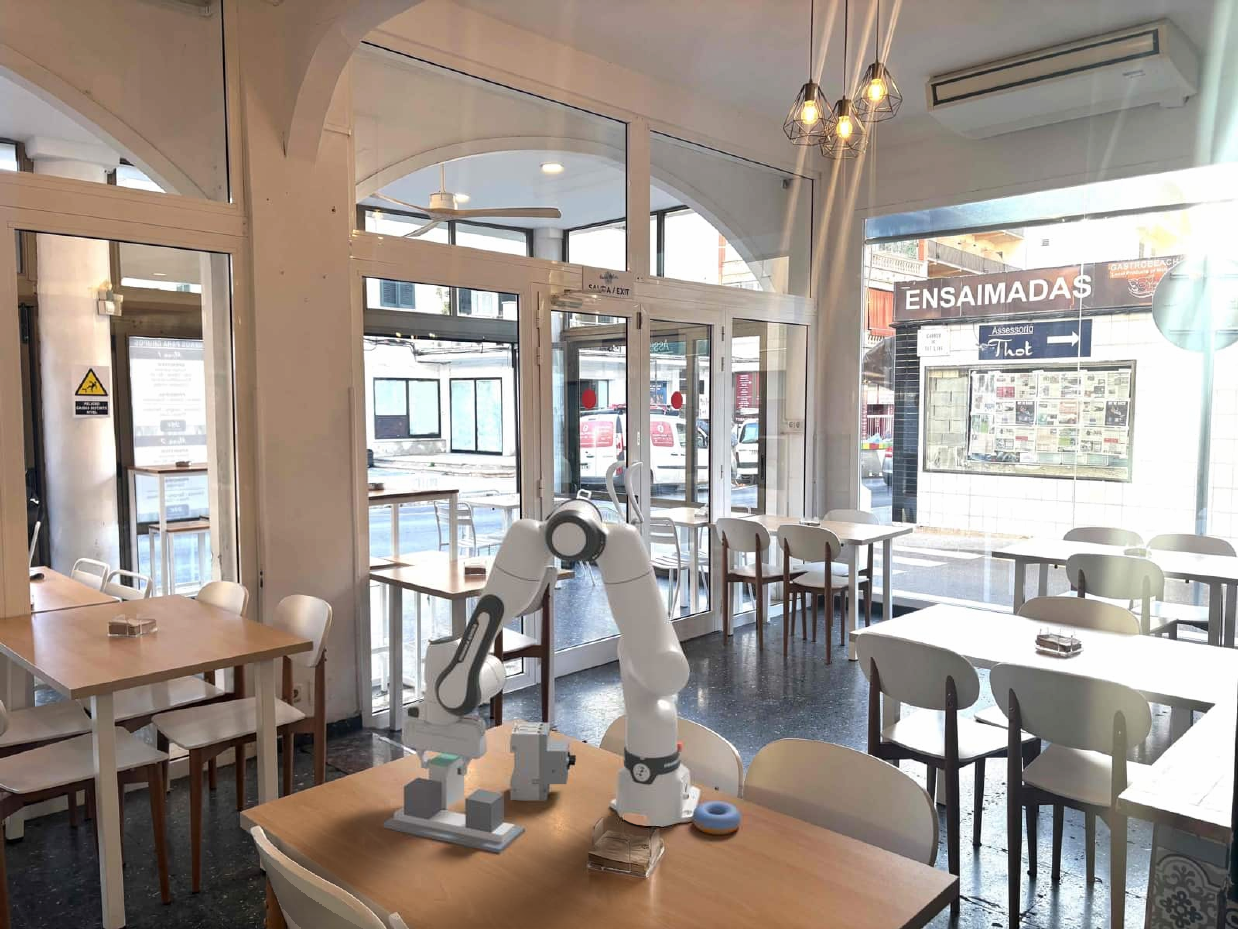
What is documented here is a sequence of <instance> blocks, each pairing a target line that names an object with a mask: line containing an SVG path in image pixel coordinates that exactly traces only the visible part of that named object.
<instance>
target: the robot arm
mask: <svg viewBox="0 0 1238 929" xmlns="http://www.w3.org/2000/svg"><path fill="white" fill-rule="evenodd" d="M642 537H643V536H642V535H641V534H640V530H638V528H637V527H636V526H634V525H633V524H631V523H626V522H616V523H612V524H608V523H605V522H603V517H602V514H601V512H600V510H599V508H598V507H597V506H596V505H595V504H594V503H593V502H592V501H589V500H587V499H585V498H571V499H568V500H566V501H564V502H562V503H561V504H560V505H559V506H558V507H556V508H555V509H554V510H553V511H551V512H550V514H548V515H547V516H546V517H545V521H540V520H536V519H532V518H521V519H517V520H516V521H514V522H513V523H512V524H511V525H510V527H509V529H508V530H507V532H506V534H505V535H504V538H503V540H502V542H501V543H500V546H499V548H498V551H497V553H496V556H495V557H494V559H493V560H494V561H493V564H492V567H491V570H490V571H489V575H488V577H487V580H486V583H485V586H484V588H483V590H482V591H481V592H482V593H481V594H480V598H478V599H479V600H478V602H477V604H476V606H475V609H474V610H473V613H472V614H471V616H470V618H469V621H468V623H467V625H466V627H465V630H464V632H463V635H462V637H461V636H458V635H450V636H449V635H448V636H444V637H439V638H437V639H435V640H433V641H431V642H430V643H429V644H427V647H426V650H425V657H424V668H423V669H424V671H423V672H424V674H423V676H424V678H423V680H424V682H425V691H424V695H423V699H419V700H416V701H415V702H412V703H411V704H409V705H407V706H406V707H404V709H403V715H404V716H405V717H404V719H403V721H402V726H401V727H402V728H401V741H402V744H403V745H404V746H405V747H407V748H413V749H416V755H417V757H418V759H419V761H420V768H421V769H424V770H429V761H430V760H431V758H429V757H428V755H427V751H429V752H433V753H434V752H435V753H439V754H441V753H444V754H449V755H455V756H460V757H462V761H464V762H463V764H462V765H461V766H460V767H458V768H457V771H458V772H457V775H460V776H464V777H465V776H467V775H468V767H469V765H470V763H471V762H472V760H479V759H480V758H482V757H483V756H485V754H486V753H487V752H488V742H487V741H488V740H487V734H486V730H487V729H486V728H487V727H486V726H487V724H486V721H485V720H484V719H483V718H482V717H481V715H478V714H471V713H472V712H474V710H476V709H477V708H478V707H479V706H481V705H482V704H484V703H485V702H487V701H489V700H490V699H491V698H493V697H495V696H496V695H497V694H499V693H500V692H501V691H502V690H504V687H505V685H506V682H507V671H506V668H505V666H504V664H503V662H502V661H501V659H500V658H499V657H497V656H496V655H494V654H490V651H491V649H492V646H493V644H494V642H495V640H496V638H497V636H498V635H499V633H500V632H501V631H502V630H503V628H504V627H505V626H506V625H508V624H509V623H510V622H511V621H512V620H513V619H514V618H515V617H517V616H519V614H521V613H523V612H524V611H525V610H526V609H528V608H529V606H530V605H531V604H532V602H533V600H534V599H535V597H536V596H537V593H538V592H539V590H540V588H541V585H542V583H543V581H544V576H545V574H546V572H547V568H548V566H549V564H550V562H551V560H552V558H553V557H556V558H557V559H558V560H561V561H566V562H587V563H592V562H595V563H596V564H597V566H598V570H599V573H600V577H601V580H602V584H603V587H604V590H605V595H606V598H607V601H608V605H609V607H610V608H609V609H610V612H611V615H612V618H613V620H614V622H615V624H616V628H618V632H619V634H620V635H621V636H620V637H619V639H618V642H617V647H616V648H617V649H616V651H617V656H618V660H619V668H620V679H621V687H622V696H623V701H624V702H623V703H624V708H625V709H624V710H625V711H624V712H625V746H624V748H623V753H622V754H623V755H622V758H623V767H622V768H620V769H619V770H618V773H617V781H616V782H617V784H616V786H617V787H616V797H614V799H612V800H611V801H610V808H611V809H613V810H614V811H616V812H617V814H618V816H619V818H621V816H622V814H624V813H634V814H643V815H646V816H647V818H648V820H649V822H650V825H653V826H655V825H659V826H660V827H667V826H671V825H674V824H675V825H676V824H678V823H680V824H681V823H689V822H690V823H691V822H693V812H694V810H695V808H696V807H697V806H698V805H699V800H700V796H701V790H700V788H698V787H696V786H693V785H691V771H690V769H688V767H686V766H685V765H683V763H682V762H681V753H682V750H683V742H680V741H678V711H677V707H676V705H675V701H674V695H676V694H678V693H679V692H681V691H682V690H683V689H684V688H685V686H686V685H687V684H688V681H689V678H690V672H691V671H690V665H689V662H688V660H687V658H686V656H685V654H684V651H683V649H682V646H681V643H680V641H679V638H678V636H677V633H676V630H675V629H674V626H673V623H672V620H671V619H670V615H669V614H668V611H667V609H666V607H665V604H664V601H663V598H662V595H661V592H660V588H659V584H658V581H657V577H656V574H655V570H654V566H653V563H652V559H651V557H650V553H649V550H648V548H647V547H646V544H645V541H644V539H643V538H642ZM660 827H659V828H660Z"/></svg>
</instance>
